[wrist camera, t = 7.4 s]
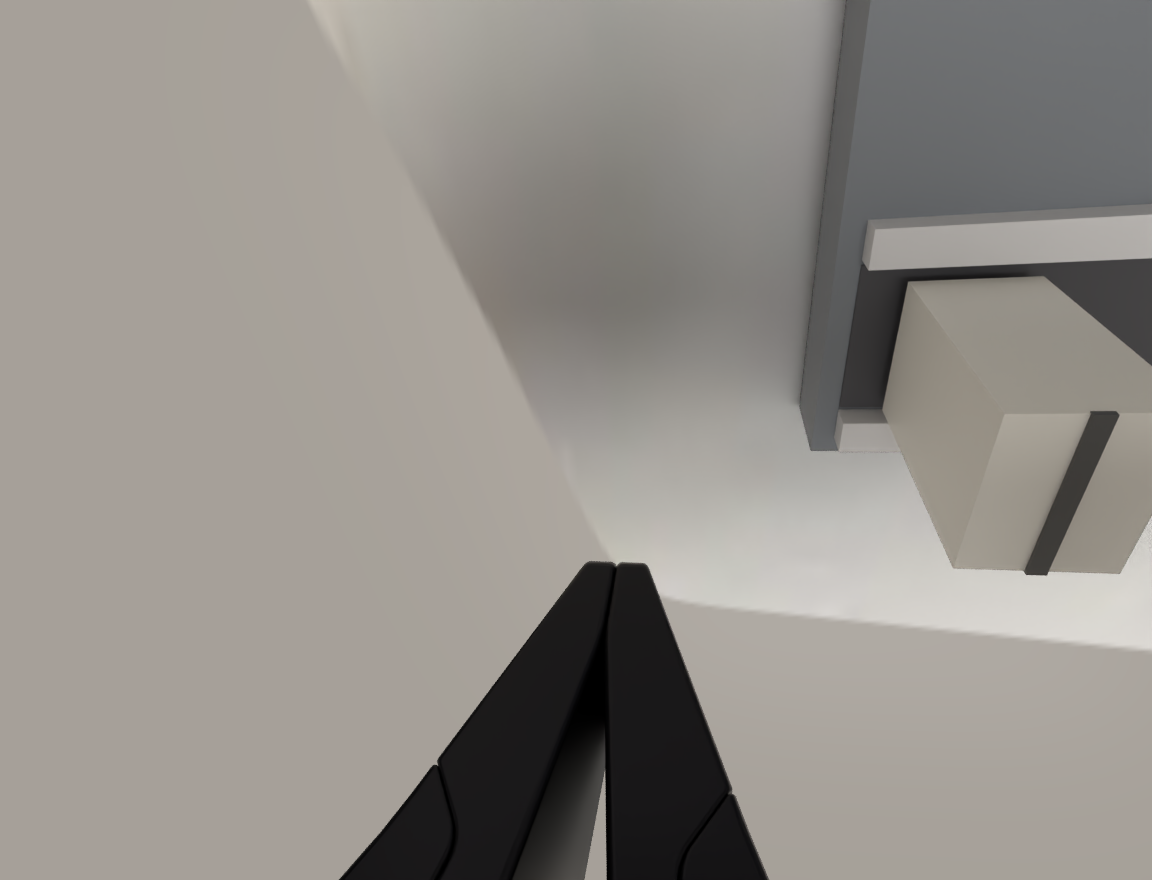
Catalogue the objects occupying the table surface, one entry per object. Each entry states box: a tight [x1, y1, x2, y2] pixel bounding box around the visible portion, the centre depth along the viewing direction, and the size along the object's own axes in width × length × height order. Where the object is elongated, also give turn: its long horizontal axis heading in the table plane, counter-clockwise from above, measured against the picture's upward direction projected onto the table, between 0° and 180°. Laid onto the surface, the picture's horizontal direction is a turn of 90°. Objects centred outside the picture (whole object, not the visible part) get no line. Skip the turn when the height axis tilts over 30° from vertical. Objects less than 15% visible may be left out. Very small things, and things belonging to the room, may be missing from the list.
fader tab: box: [882, 276, 1152, 575], centre depth 11 cm, size 2×3×5 cm
